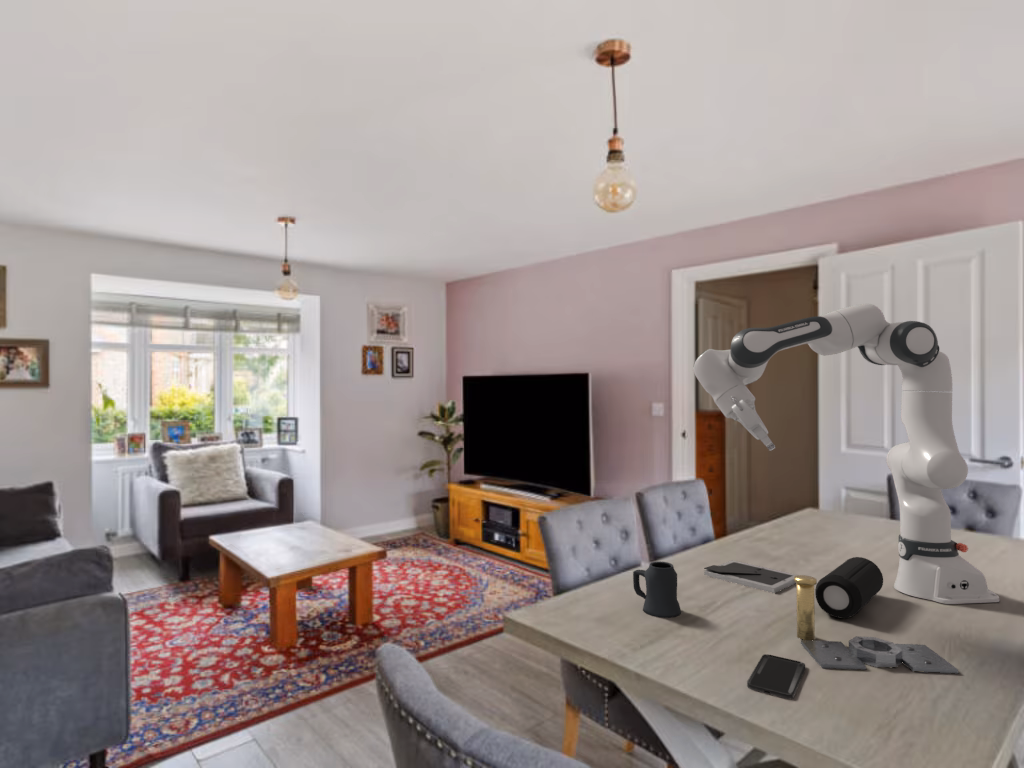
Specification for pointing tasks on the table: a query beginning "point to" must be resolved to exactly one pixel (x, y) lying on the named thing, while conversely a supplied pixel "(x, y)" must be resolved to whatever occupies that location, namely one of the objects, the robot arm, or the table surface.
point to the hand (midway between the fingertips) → (771, 446)
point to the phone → (776, 676)
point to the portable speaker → (849, 587)
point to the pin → (805, 606)
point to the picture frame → (751, 575)
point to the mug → (659, 590)
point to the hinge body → (876, 655)
